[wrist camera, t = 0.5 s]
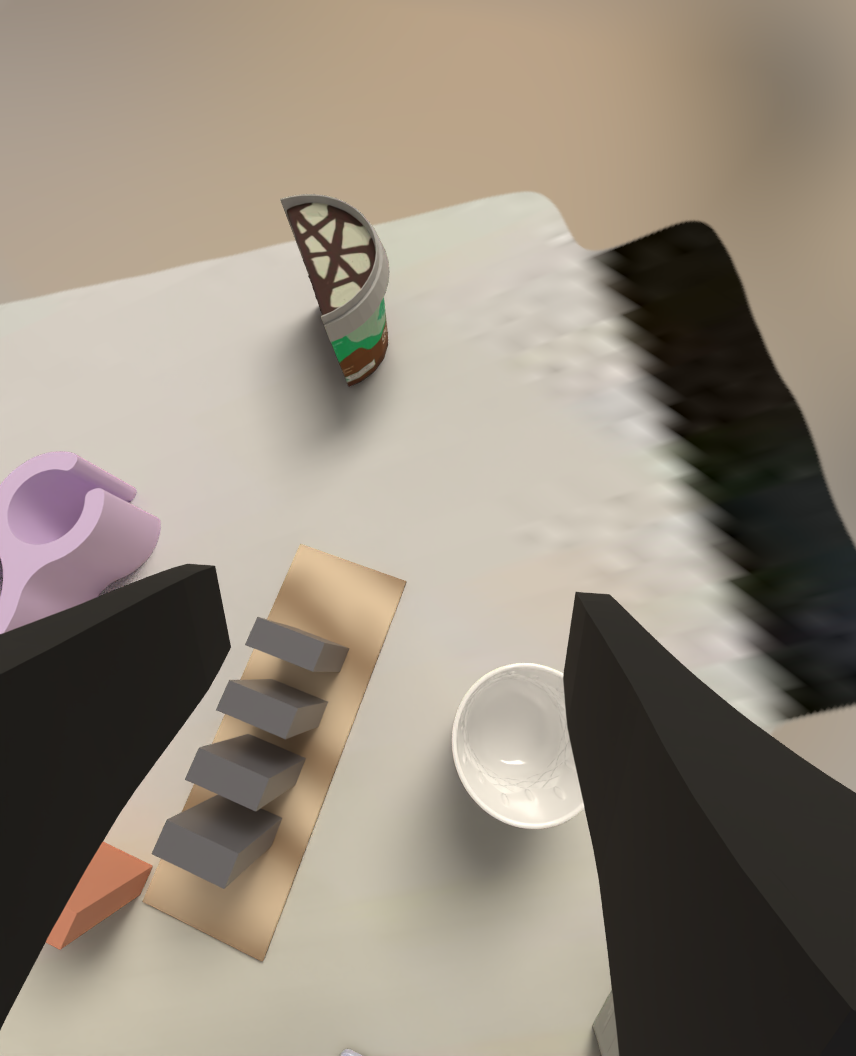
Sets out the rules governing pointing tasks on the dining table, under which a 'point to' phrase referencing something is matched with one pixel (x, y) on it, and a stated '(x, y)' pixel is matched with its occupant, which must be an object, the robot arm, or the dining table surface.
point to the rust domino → (100, 893)
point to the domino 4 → (217, 839)
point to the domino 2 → (272, 706)
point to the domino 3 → (246, 770)
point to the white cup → (518, 747)
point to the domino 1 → (297, 646)
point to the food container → (344, 278)
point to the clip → (66, 536)
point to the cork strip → (291, 745)
